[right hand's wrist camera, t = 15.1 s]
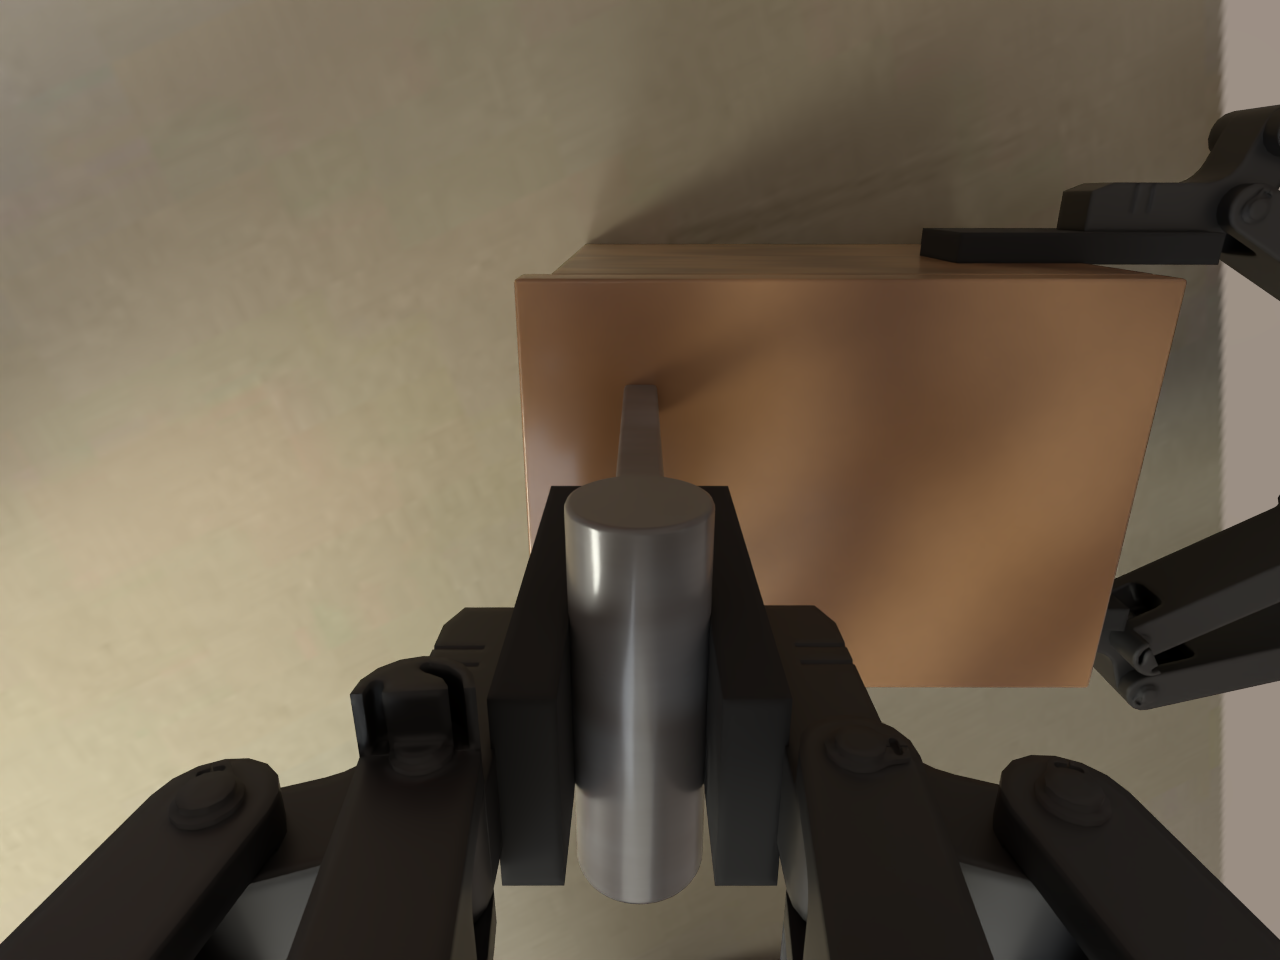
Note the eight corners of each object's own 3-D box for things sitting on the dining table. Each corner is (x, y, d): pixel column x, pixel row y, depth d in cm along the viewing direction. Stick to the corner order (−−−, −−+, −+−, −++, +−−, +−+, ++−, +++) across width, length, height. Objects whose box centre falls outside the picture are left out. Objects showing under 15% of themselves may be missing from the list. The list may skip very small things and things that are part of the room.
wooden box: (591, 503, 30) (565, 663, 20) (585, 243, 27) (549, 273, 16) (920, 503, 30) (1066, 664, 20) (957, 244, 27) (1156, 273, 16)
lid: (541, 664, 20) (467, 1006, 11) (521, 274, 16) (395, 354, 8) (1068, 665, 20) (1379, 1008, 11) (1157, 274, 16) (1696, 354, 8)
